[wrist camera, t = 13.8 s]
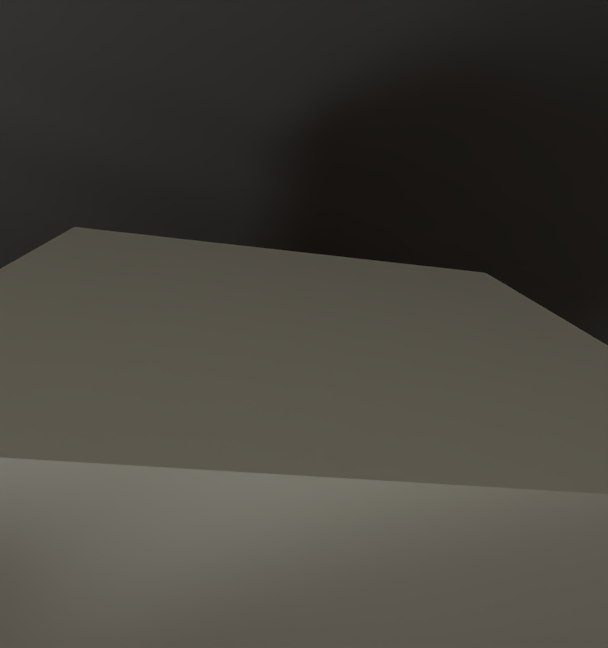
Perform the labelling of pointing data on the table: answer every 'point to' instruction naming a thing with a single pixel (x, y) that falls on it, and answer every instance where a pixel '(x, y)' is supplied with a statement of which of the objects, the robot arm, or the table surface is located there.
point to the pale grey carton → (293, 453)
